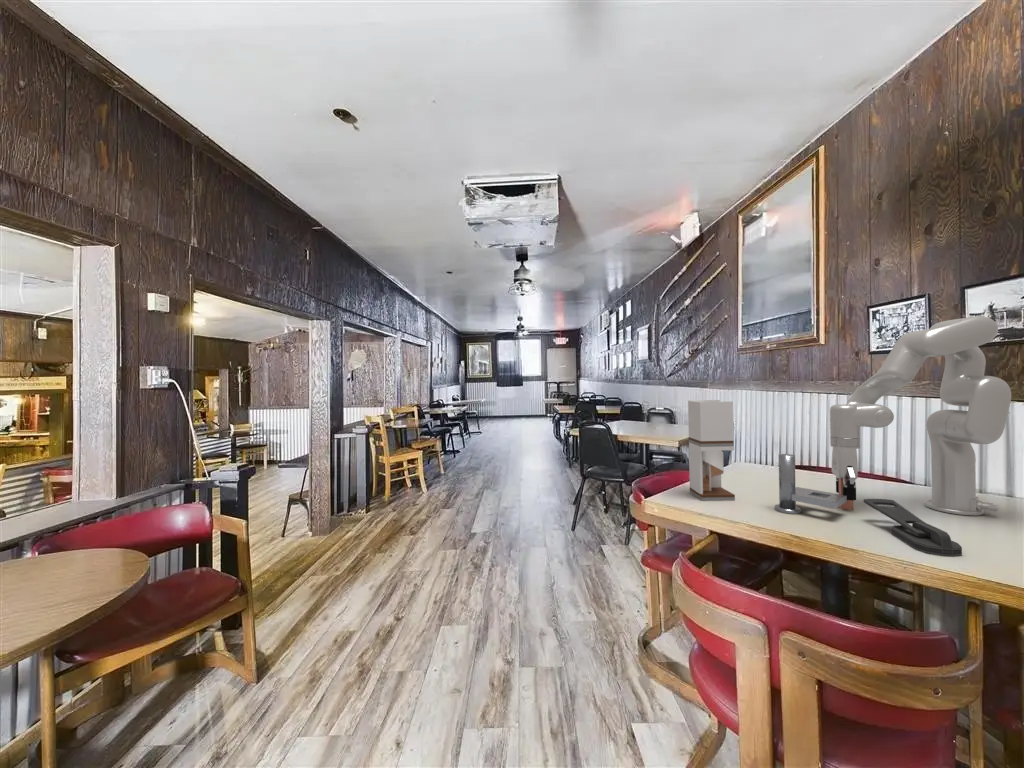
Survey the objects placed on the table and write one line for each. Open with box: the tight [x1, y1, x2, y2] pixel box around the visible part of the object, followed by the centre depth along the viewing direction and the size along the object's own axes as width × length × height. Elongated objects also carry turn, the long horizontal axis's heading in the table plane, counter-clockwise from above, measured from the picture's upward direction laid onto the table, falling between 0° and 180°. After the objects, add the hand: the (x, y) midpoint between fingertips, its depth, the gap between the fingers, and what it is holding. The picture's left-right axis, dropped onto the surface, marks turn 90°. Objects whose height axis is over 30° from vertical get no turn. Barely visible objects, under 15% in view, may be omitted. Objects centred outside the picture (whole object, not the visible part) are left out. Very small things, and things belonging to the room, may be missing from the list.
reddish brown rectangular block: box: [838, 477, 854, 511], centre depth 132 cm, size 3×3×10 cm
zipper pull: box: [862, 498, 963, 558], centre depth 108 cm, size 9×7×25 cm
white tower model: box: [687, 399, 736, 502], centre depth 148 cm, size 11×11×35 cm
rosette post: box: [774, 453, 847, 515], centre depth 129 cm, size 16×13×18 cm
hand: (845, 496), depth 132 cm, fingers open, 7 cm apart
